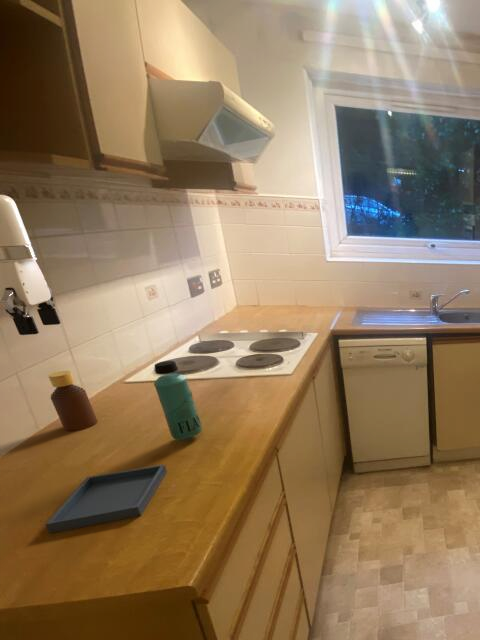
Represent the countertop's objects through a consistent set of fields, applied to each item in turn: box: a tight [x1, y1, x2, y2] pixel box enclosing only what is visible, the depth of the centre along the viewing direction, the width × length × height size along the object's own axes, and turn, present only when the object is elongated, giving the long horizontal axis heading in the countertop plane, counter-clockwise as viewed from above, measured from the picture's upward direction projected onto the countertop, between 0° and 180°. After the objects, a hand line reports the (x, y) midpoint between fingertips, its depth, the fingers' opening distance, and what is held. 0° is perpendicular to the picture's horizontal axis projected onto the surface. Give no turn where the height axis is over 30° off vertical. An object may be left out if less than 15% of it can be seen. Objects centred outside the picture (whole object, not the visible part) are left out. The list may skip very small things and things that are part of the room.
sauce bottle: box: [50, 383, 99, 432], centre depth 110 cm, size 6×6×14 cm
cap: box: [47, 370, 75, 388], centre depth 108 cm, size 4×4×3 cm
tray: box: [45, 464, 168, 534], centre depth 85 cm, size 13×15×2 cm
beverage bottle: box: [153, 360, 203, 440], centre depth 103 cm, size 6×7×20 cm
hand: (41, 329), depth 103 cm, fingers open, 8 cm apart
